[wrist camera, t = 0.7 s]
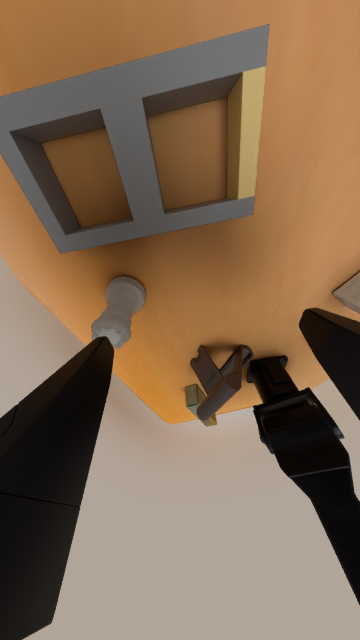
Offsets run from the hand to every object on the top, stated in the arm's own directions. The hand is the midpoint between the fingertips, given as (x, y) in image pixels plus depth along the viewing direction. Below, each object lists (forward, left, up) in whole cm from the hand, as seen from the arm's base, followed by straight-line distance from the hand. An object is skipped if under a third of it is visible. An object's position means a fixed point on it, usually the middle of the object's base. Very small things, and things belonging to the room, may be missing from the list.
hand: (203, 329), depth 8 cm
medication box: (-31, +1, -13) cm, 34 cm away
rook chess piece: (-3, +7, -13) cm, 15 cm away
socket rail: (+7, +2, -12) cm, 14 cm away
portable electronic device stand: (-18, -3, -13) cm, 22 cm away
